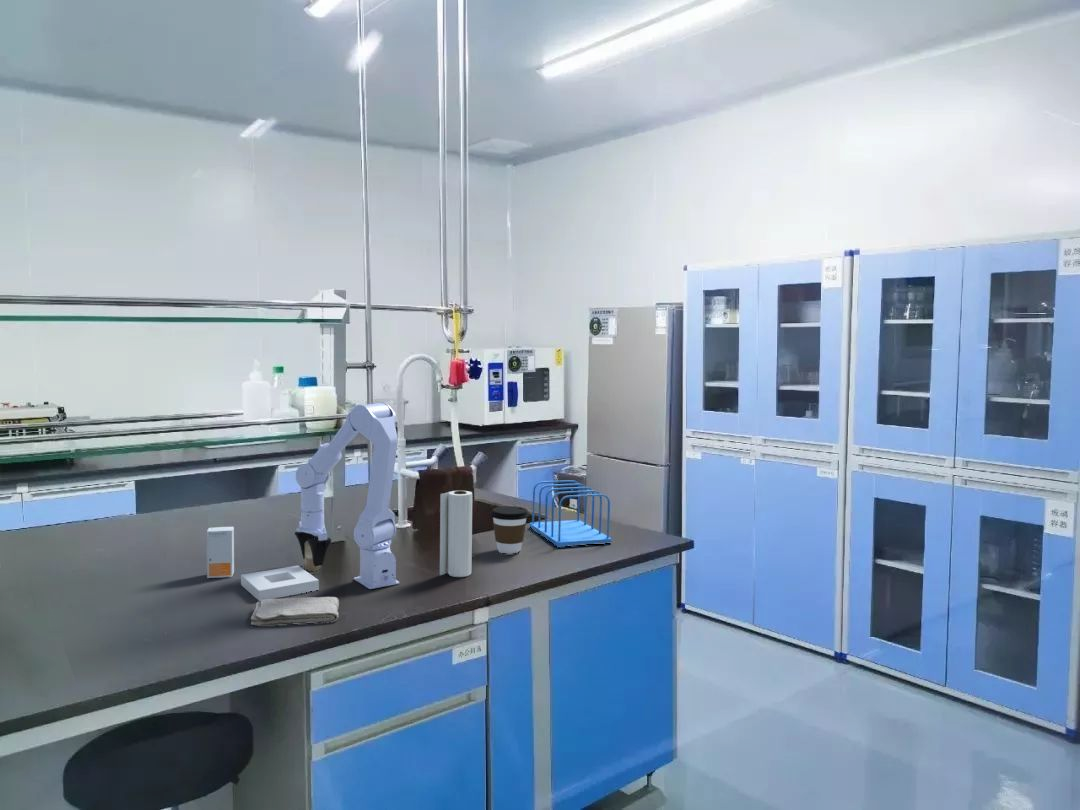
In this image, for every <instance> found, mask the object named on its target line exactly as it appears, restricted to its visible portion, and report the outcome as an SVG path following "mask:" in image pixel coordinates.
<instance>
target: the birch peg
mask: <svg viewBox="0 0 1080 810" xmlns="http://www.w3.org/2000/svg"><path fill="white" fill-rule="evenodd" d="M319 569H320V570H321V569H322V565H320V566H314V563H313V557H312V551H311V548H310V545H309V543H308V541H307V542H305V559H304V570H305V571H306V570H310V571H309V572H315V571H314V570H318V571H320V570H319Z"/></svg>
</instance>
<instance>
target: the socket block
mask: <svg viewBox="0 0 1080 810" xmlns="http://www.w3.org/2000/svg"><path fill="white" fill-rule="evenodd" d="M240 585H241V586H242V587H243V588H244V589H245V590H246V591H247V592H248V593H250V594H251V596H253V597H254V598H255V599H257V602H260V601H261V600H264V599H281V598H284V597H285V598H286V597H290V595H291V596H294V595H295V596H296V595H301V593H302V594H307V593H311V592H310V591H312V592H317V591H316V590H318V591H319V590H320V580H319V579H318V578H316V577H315V576H313V574H311V573H309V571H306V570H305V568H302V567H301V566H300V565H293V566H287V567H281V568H276V569H275V568H274V569H268V570H263V571H256V572H250V573H245V574H244V573H242V574H240ZM306 592H307V593H306Z"/></svg>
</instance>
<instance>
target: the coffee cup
mask: <svg viewBox="0 0 1080 810" xmlns="http://www.w3.org/2000/svg"><path fill="white" fill-rule="evenodd" d="M490 516H491V517H492V520H493V522H492V525H493V531H494V538H495V542H496V549H497V551H498V552H499V553H500V552H501V553H500V554H502V553H517V552H519V551H520V552H521V550H522V544H523V542H524V538H525V532H526V525H527V518H529V516H530V513H529V512H528V509H527V508H525V507H521V506H514V505H505V506H497V507H494V508H493V509H492V510H491V512H490ZM520 552H519V553H520ZM517 554H518V553H517Z"/></svg>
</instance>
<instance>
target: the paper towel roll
mask: <svg viewBox="0 0 1080 810" xmlns="http://www.w3.org/2000/svg"><path fill="white" fill-rule="evenodd" d="M439 500H440V507H439V508H440V509H439V512H440V514H439V515H440V517H439V519H440V520H439V521H440V522H439V523H440V524H439V527H440V528H439V530H440V531H439V576H442V575H445V574H447V575H448V574H449V576H451V577H454V578H464V577H468V576H470V575H471V574H472V563H473V562H472V557H473V556H472V555H473V554H472V553H473V551H472V550H473V548H472V547H473V545H472V544H473V543H472V541H473V539H472V538H473V492H472V491H469V490H468V491H467V490H452V491H448V492H447V491H446V492H445V493H440V499H439Z"/></svg>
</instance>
